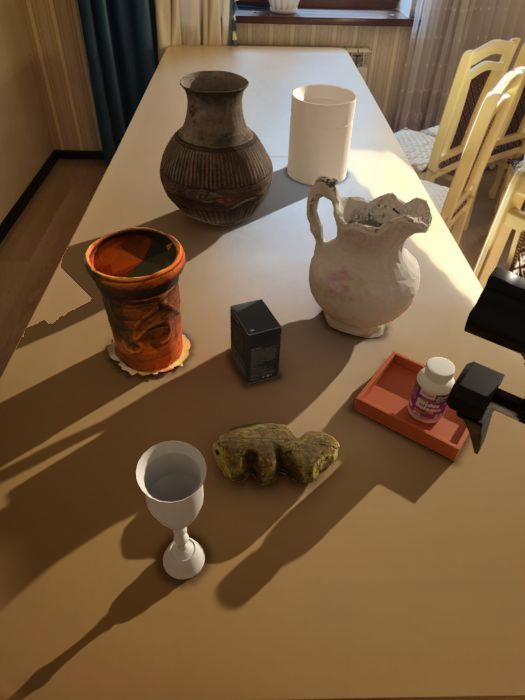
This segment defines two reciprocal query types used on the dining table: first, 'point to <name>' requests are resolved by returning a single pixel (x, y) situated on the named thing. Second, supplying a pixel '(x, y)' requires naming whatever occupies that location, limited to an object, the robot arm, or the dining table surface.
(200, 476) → the chalice
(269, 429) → the sculpture
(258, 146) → the vase
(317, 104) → the canister
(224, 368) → the dining table surface
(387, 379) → the tray
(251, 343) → the box
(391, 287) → the ceramic pitcher
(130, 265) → the vessel
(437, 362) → the pill bottle
